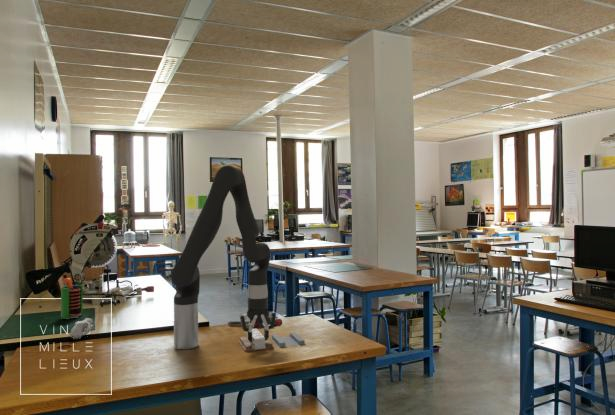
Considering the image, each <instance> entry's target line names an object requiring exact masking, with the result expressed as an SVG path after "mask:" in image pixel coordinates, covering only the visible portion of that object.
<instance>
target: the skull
mask: <svg viewBox="0 0 615 415" xmlns="http://www.w3.org/2000/svg"><path fill="white" fill-rule="evenodd" d="M93 323H94V322H93V318H90V317H85V318H84V319H83V320H80V321H79V320H78V321H75V322H74V326H73V327H71V330H70V333H69V336H70V337H71V339H72V338H73V339H72V340H78V339H79V340H81V338H82V337H83V336H84V337H85V335H86V334H87V333H89V332H90V331H92V324H93ZM90 333H91V332H90ZM72 336H73V337H72Z"/></svg>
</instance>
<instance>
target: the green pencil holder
mask: <svg viewBox="0 0 615 415" xmlns="http://www.w3.org/2000/svg"><path fill="white" fill-rule="evenodd" d="M63 283H67V285H64V286H61V287H60V318H61V317H63V318H69V317H75V316H80V315H81V314H82V315H83V308H84V307H83V304H84V303H83V298H84V295H83V294H84V293H83V291H84V290H83V288H84V287H83V285H82V284H73V280H72V278H71V277H65V278H63ZM69 314H75V315H69Z"/></svg>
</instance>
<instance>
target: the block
mask: <svg viewBox="0 0 615 415" xmlns="http://www.w3.org/2000/svg"><path fill="white" fill-rule="evenodd" d="M251 332H252V342H250V341H249V340H248V332H247V331H246V338H247V340H248V341H249V342H250V344H251V345H252V347H253V348H254V350H256V351H258V350H257V349H264V350H266V349H265V337H264V336H263V335H264V334H262V332H260V329H258V327H255V328H252V331H251Z"/></svg>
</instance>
